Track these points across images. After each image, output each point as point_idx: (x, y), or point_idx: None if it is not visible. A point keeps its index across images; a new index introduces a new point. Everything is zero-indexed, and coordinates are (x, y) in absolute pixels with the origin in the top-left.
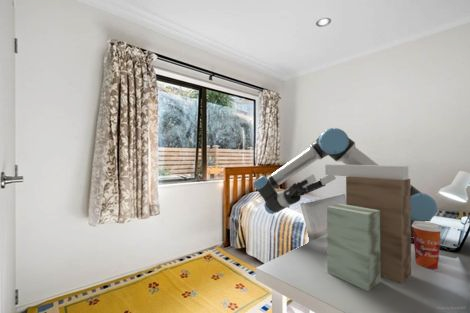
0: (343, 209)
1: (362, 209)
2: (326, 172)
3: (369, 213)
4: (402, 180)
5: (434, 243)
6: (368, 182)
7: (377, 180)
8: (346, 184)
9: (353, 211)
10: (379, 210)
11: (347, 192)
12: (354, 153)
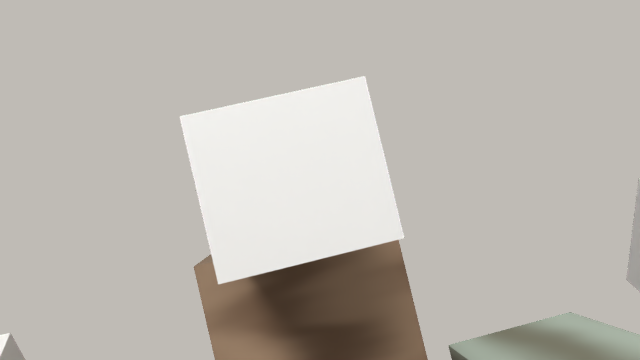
0: (635, 337)
1: (518, 346)
2: (390, 199)
3: (546, 319)
4: None
5: None
6: None
7: None
8: (408, 285)
9: (601, 326)
10: (451, 344)
11: (422, 352)
12: None
